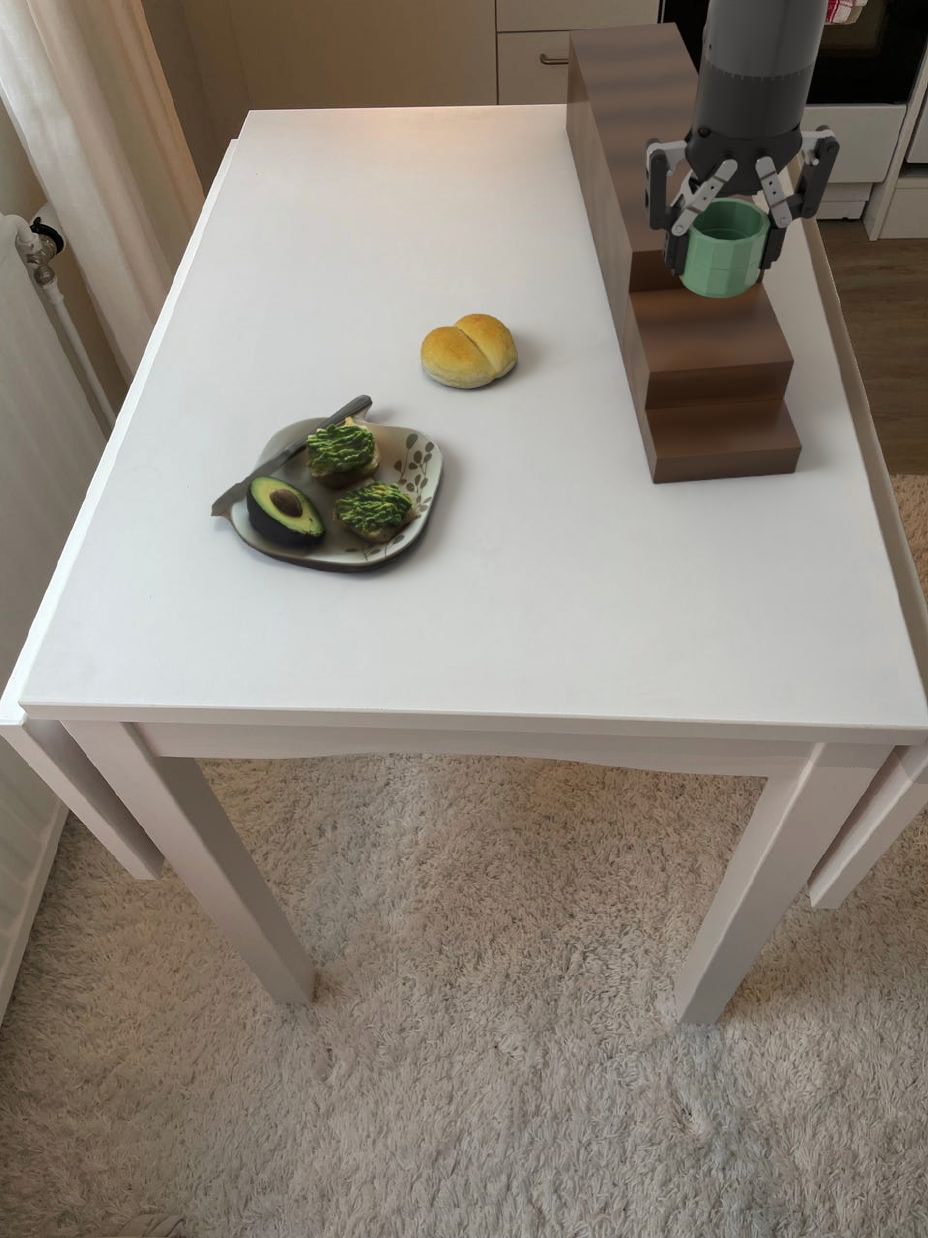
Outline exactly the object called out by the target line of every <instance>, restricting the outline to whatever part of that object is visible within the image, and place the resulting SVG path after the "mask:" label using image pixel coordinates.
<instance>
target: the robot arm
mask: <svg viewBox="0 0 928 1238" xmlns="http://www.w3.org/2000/svg"><path fill="white" fill-rule="evenodd" d="M828 7H829V0H709V3H708V9H707V14H706V15H707V17H706V21H705V22H706V23H705V25H704V27H703V32H702V52H701V56H700V57H701V58H700V65H699V71H698V76H699V78H698V85H697V92H696V99H695V106H694V113H693V121H692V125H691V127H690V129H689V131H688V133H687V134H686V136H685V137H684V139H683V140H681V141H675V142H669V143H663V144H662V143H661V141H660V139H658V138H651V139H649V140H648V141H647V142H646V144H645V181H644V209H645V213H646V216H647V219H648V222H649V225H650V228H651V229H653V230H659V229H664V230H665V237H664V244H663V252H662V255H663V258H664V261H665V265H666V268H667V270H668V269H670V270H671V273H672V276H680V275H682V273H683V267H684V260H685V254H686V247H687V241H688V234H687V230H688V228H689V227H690V225H691V224H692V223H693V221H694V220H695V218H696V217H697V216H698V214H700V213H703V212H704V211H705V210H706V209H707V207H708V206H709V204H710V203H711V202H712V200H713V199H714V197H715V198H726V197H729V196H733V195H736V194H739V195H744V196H752V197H753V196H758V193H759V192H762V194H763V196H764V200H765V202H766V205H767V207H768V213H767V215H768V218H769V220H770V228H769V233H768V237H767V242H766V246H765V250H764V255H763V259H762V263H761V268H760V269H761V270H762V269H765V270H770V269H771V267H772V263H774V262H777V261H778V260H779V258H780V257H781V254H782V249H783V246H784V245H783V244H784V241H785V237H786V234H787V229H788V227H789V226H790V225H791V223H792V222H793V221H795V220H797V219H801V218H803V219H804V220H809V219H813V218H814V217H815V215H816V214H817V213H818V211H819V208H820V204H821V202H822V200H823V197H824V193H825V191H826V188H827V185H828V183H829V179H830V177H831V174H832V171H833V169H834V165H835V163H836V160H837V157H838V154H839V152H840V148H841V146H840V143H839V141H838V139H837V137H836V135H835V133H834V132H833V130H832V129H831V127H830V126H829V125H827V124H821V125H819V126H818V127H816V129H815V130H814V131H813V130H801V121H802V119H803V116H804V113H805V108H806V104H807V100H808V95H809V91H810V87H811V82H812V78H813V74H814V69H815V64H816V62H817V56H818V53H819V49H820V48H819V47H820V44H821V39H822V36H823V31H824V26H825V23H826V18H827V12H828ZM800 151H801V153H800V155H801V157H802V159H803V161H804V162H803V164H802V168H801V170H800V173H799V176H798V180H797V183H796V185H795V189H794V191H793V194H791V195H787V196H786V195H785V193H784V190H783V187H782V184H781V181H780V178H779V174H780V173H781V172H782V171H783V170H784V169H785V168H786V167H787V166H788V165H789V164H790V163H791V161H792V160H793V159H794V158H795V157H796V156H797V155H798V154H799V152H800ZM685 158H686V161H687V162H688V164H689V165H690V167H691V170H690V171H689V173H688V174H687V176H686V177H685V179H684V180H683V182H682V184H681V188H680V191H679V193H678V194H677V196H676V197H675V199H674V200H673V202H672V203H671V204H670V206H668V205H666V186H667V177H670V176H672V175H673V173H674V172H675V170H676V166H677V164H678V162H679V161H680V160H682V159H685Z"/></svg>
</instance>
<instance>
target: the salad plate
mask: <svg viewBox="0 0 928 1238" xmlns="http://www.w3.org/2000/svg"><path fill="white" fill-rule="evenodd" d="M372 406H373V401H372V397H371V396H370V395H367V394H361V395H358V396H357V397H355V398H354V399H352V400H351V401H350V402H348V403H346V404H345V405H344V406H343V407H341V408H340V409H339V410H337V411H336V412H335V413H333V414H332V415H330V416H324V417H323V416H320V417H319V416H318V417H310V418H309V417H308V418H305V419H302V420H299V421H296V422H293V423H291V424H289V425H286V426H284V427H281V428H280V429H278V430H277V431H276V432H274V433H273V434H272V436H271V437H270V438H269V440H268V441H267V442H266V443H265V445H264V446H263V448H262V449H261V451H260V454H259V455H258V457H257V459H256V461H255V463H254V464H253V466H252V468H251V470H250V473H249V475H248V476H246V477H245V478H244V479H243V480H242V481H240V482H236V483H235V484H233V485H232V486H231V487H230V488H229V489H227V490H226V491H225V492H224V493H222V494H221V495H220V496H219V497H218V498H217V499H216V500H215V501H214V502H213V503H212V505H211V513H210V517H222V518H224V519H226V520H227V521H228V522H229V523H230V524H231V526H232V527H233V529H234V531H235V533H236V534H237V535H238V537H239V538H240V539H241V540H242V541H243V542H244V543H245V544H246V545H247V546H248V547H250V548H252V549H254V550H255V551H257V552H258V553H261V554H263V555H264V556H267V557H268V558H271V559H272V560H276V561H279V562H283V563H288V564H291V565H295V566H298V567H302V568H307V569H311V570H316V571H320V572H327V573H328V572H329V573H344V574H345V573H358V572H365V571H370V570H374V569H378V568H381V567H383V566H385V565H387V564H389V563H391V562H393V561H395V560H397V559H398V558H400V557H401V556H402V555H404V554H406V553H407V552H408V551H409V550H411V549H412V547H413V546H414V545H415V544H416V543H417V541H418V540H419V539H420V537H421V536H422V535H423V533H424V531H425V530H426V528H427V525H428V524H429V517H430V512H431V509H432V505H433V502H434V500H435V497H436V494H437V492H438V488H439V484H440V480H441V477H442V472H443V468H444V463H445V462H444V457H443V453H442V451H441V449H440V447H439V446H438V444H437V443H436V442H435V441H434V440H433V439H432V438H431V437H430V436H428V434H426V433H425V432H423V431H421V430H418V429H415V428H412V427H407V426H406V427H405V426H399V425H398V426H397V425H389V424H379V423H373V422H369V421H367V420H366V416H367V413H368V412H369V410H370V409H371V407H372Z"/></svg>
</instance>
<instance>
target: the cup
mask: <svg viewBox="0 0 928 1238" xmlns="http://www.w3.org/2000/svg"><path fill="white" fill-rule="evenodd" d="M767 214H768V213H767V211H765V210H764V209H762V208H761V207H760V206H758V205H757V204H756V203H755V204H753V203H750V202H747V201H744V200H741V199H734V198H715V199H713V200H712V202H711V203H710V204H709V206H708V207H707V209H706V210H705V211H704V212H703V213H700V214H698V216H697V217H696V218H695V220H694V221H693V223H692V224H691V225H690V227H689V228H688V230H687V234H688V241H687V247H686V254H685V260H684V267H683V273H682V275H680V276H679V277H680V279H681V280H682V282H683V284H684V285H685V286H686V287H687V288H688V289H689V290H691V291H693V292H694V293H697V294H699V295H702V296H706V297H711V298H729V297H734V296H737V295H740V294H742V293H744V292H745V291H747V290H748V289H749V288H750V287H751V286H752V285H754V284H755V282H756V280H757V278H758V275H759V272H760V268H761V263H762V259H763V255H764V250H765V246H766V242H767V237H768V233H769V228H770V220H769V218H768V215H767Z"/></svg>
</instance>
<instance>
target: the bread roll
mask: <svg viewBox="0 0 928 1238" xmlns="http://www.w3.org/2000/svg"><path fill="white" fill-rule="evenodd" d="M518 356H519V355H518V350H517V348H516V345H515V341H514V338H513V335H512V333H511V331H510V329H509V328H508V327H507V326H506V325H505V324H504V323H503V322H502V321H501V320H499V319H498V318H496V317H495V316H493V315H490V314H486V313H470V314H466V315H464V316H462V317H461V318H460V319H458V320H457V321H456V322H455V323H454V325H452V326H447V325H446V326H439V327H436V328H435V329H432V330H431V331H430V332H429V333H428V334H427V335H425V337H424V339H423V341H422V343H421V347H420V361H421V366H422V368H423V370H424V372H425V374H426V375H427V376H428V377H429V378H430V379H432V380H433V381H435V382H437V383H439V384H441V385H442V386H448V387H452V388H458V389H467V390H469V389H475V388H480V387H483V386H485V385H488V384H490V383H492V381H493V380H494V379H495V380H496V379H499V378H502V377H503V376H505V375H507V374H508V373H509V372H510V371H511V370H512V369H513V367H514V366H515V365H516V364H517V361H518V359H519V357H518Z"/></svg>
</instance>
